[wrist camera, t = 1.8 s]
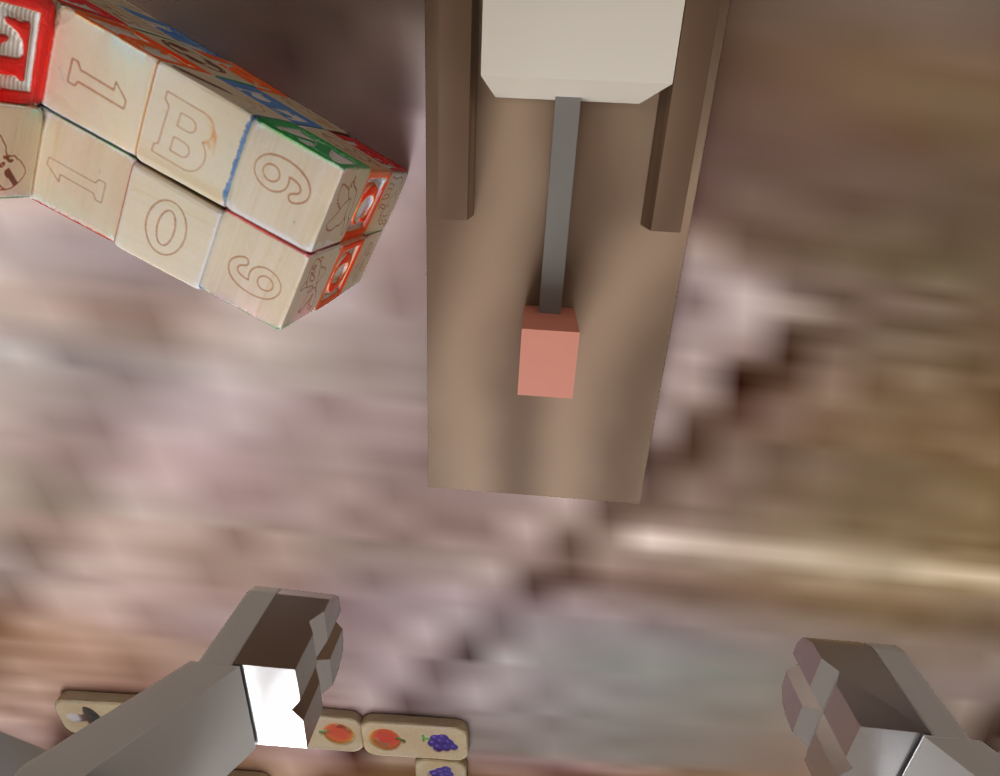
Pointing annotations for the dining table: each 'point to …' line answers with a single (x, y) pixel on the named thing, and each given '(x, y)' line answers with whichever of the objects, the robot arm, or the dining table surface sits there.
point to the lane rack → (588, 268)
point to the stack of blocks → (185, 157)
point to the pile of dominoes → (329, 733)
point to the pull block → (571, 126)
